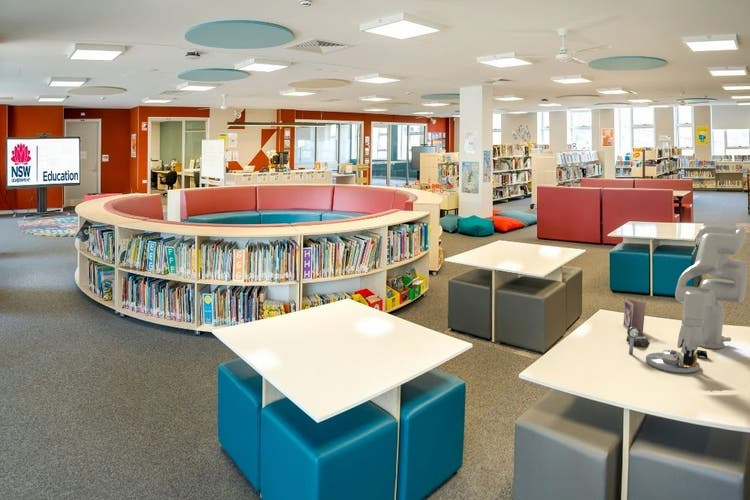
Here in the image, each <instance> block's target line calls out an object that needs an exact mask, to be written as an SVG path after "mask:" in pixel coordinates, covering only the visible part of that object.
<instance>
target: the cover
mask: <svg viewBox="0 0 750 500" xmlns="http://www.w3.org/2000/svg"><path fill="white" fill-rule="evenodd" d="M662 353H663V356H662V361H663V362H664V363H666V364H670V365H680V364H681V358H682V356H683V353H682V352H681V351H677V350H674V349H664V350H663V351H662Z"/></svg>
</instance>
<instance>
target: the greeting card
mask: <svg viewBox="0 0 750 500" xmlns="http://www.w3.org/2000/svg"><path fill="white" fill-rule="evenodd" d="M645 315H646V302H643V301H642V302H641V301H638V300H634V299H630V298H626V297H625V301H624V312H623V323H622V327H623V328H625V329H626V330H627V331H628V329H629V328H630V327H636V328H638V329H639V330H640V331H641V332H642V333H644V326H645V325H644V323H645Z"/></svg>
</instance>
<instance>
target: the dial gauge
mask: <svg viewBox="0 0 750 500" xmlns="http://www.w3.org/2000/svg"><path fill="white" fill-rule="evenodd" d="M626 333H627V336H630V345H629V349H628V355H634V347H635V346H634V339H646V338H647V336H645V337H638V335H639V329H637V328H636V327H630V328H629V329H628V330H627V331H626Z"/></svg>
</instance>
